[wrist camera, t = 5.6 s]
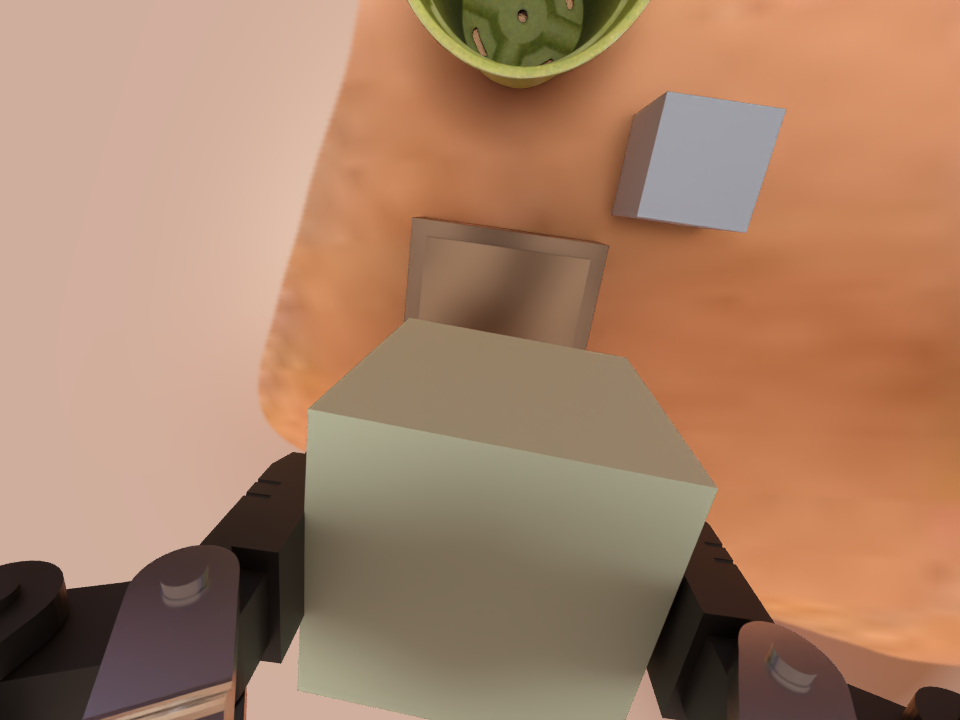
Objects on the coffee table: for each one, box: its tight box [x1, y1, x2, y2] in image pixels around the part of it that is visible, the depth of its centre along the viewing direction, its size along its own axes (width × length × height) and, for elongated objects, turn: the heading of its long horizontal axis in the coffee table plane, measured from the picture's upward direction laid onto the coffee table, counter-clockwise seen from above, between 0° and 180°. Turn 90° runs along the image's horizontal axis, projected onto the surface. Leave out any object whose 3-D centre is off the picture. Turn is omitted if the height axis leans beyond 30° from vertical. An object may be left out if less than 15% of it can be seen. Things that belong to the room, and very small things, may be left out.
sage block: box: [297, 318, 718, 720], centre depth 10 cm, size 6×6×6 cm
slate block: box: [612, 91, 786, 233], centre depth 22 cm, size 5×5×5 cm
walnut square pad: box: [404, 217, 609, 350], centre depth 25 cm, size 10×10×3 cm
